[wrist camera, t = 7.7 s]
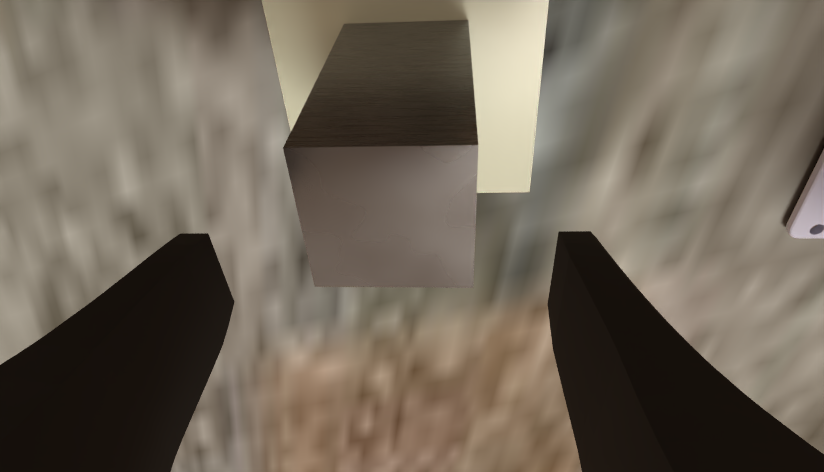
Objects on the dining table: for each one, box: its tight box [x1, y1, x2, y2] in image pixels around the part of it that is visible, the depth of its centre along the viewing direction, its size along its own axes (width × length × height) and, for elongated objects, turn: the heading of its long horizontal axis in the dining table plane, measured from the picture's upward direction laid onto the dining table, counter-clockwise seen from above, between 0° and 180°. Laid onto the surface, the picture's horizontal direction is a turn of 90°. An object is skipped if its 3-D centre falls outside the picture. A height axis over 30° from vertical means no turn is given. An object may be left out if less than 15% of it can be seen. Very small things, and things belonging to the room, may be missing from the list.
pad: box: [262, 0, 549, 193], centre depth 19 cm, size 9×9×1 cm
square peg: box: [283, 20, 478, 288], centre depth 15 cm, size 4×4×8 cm
